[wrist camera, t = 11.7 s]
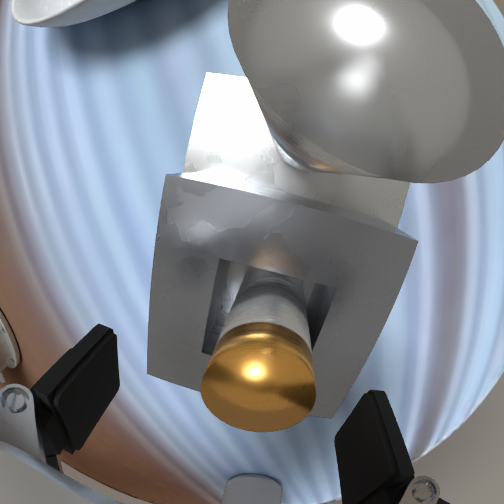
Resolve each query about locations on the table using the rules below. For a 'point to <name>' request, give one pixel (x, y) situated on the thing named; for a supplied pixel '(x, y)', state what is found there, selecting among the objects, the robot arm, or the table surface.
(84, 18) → the serving bowl
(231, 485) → the can
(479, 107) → the grey block stand
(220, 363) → the gold and grey cylinder
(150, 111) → the table surface
